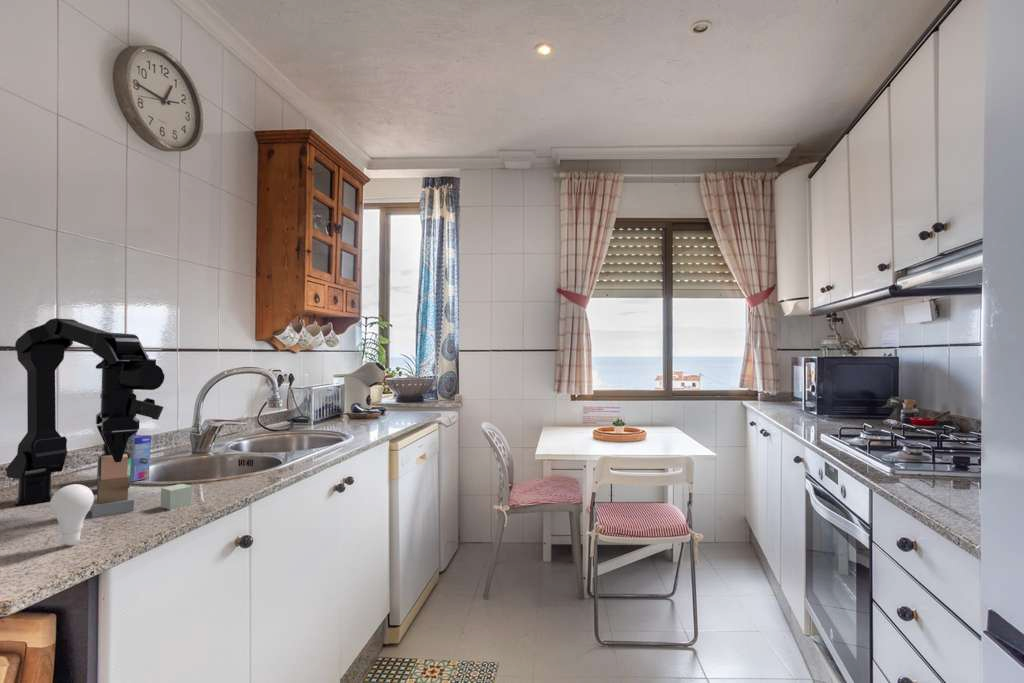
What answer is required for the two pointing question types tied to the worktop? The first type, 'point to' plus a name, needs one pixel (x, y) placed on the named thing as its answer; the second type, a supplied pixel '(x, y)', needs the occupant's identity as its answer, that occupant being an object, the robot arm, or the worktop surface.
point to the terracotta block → (113, 467)
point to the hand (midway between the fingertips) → (115, 458)
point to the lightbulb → (71, 510)
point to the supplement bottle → (108, 455)
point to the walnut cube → (112, 490)
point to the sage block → (176, 496)
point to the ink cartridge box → (139, 456)
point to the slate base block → (112, 507)
